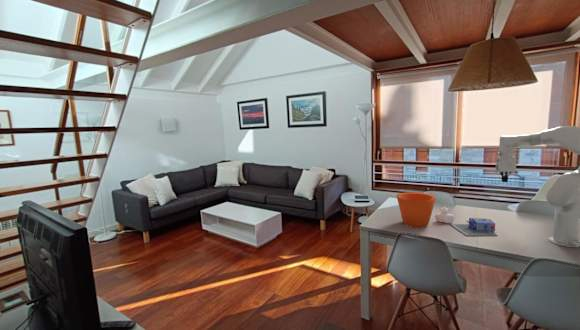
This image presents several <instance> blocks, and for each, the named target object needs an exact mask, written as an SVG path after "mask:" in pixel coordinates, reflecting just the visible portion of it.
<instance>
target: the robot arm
mask: <svg viewBox="0 0 580 330" xmlns="http://www.w3.org/2000/svg"><path fill="white" fill-rule="evenodd" d="M498 144H499V145H498V148H499V149H498V152H497V153H496V155H498V156H497V158H496V163H495V173H496V174H499V175H500V176H501V182H503V183H508V180H509V176H510V175H511V174H514V173H515V171H517V162H516V156H514V149H515V148H527V147H535V146H543V145H544V146H547V145H548V146H549V145H555V144H558V145H560V146H561V147H563V148H565V149H567V151H570V152H572V153H573V154H576V155H578V156H580V127H579V126H578V125H577V126H576V125H564V126H563V125H562V126H557V127H555V128H550V129H545V130H544V129H543V130H542V131H541V132H537V133H536V132H535V133H531V134H530V133H529V134H518V135H517V134H516V135H508V134H507V135H500V137H499V143H498ZM545 200H546V201H547V203H548V204H549V205H551V206H553V207H555V210H554V219H553V221H554V222H553V233H552V236H550V237H549V238H548V241H549V242H551V243H552V244H554V245H558V246H562V247H568V248H580V247H579V246H580V238H579V236H578V233H579V224H580V223H579V221H580V166H578V168H577V169H576V170H574V171H570V172H565V173H563V174H562V175H560V176H559V177H558V178H557V179H556V180H555V181H554V183H553V184H552V185H551V187H550V188H549V189H548V191H547V192H546V195H545Z"/></svg>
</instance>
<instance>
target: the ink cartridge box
mask: <svg viewBox="0 0 580 330" xmlns="http://www.w3.org/2000/svg"><path fill="white" fill-rule="evenodd" d="M466 222H467V224H469V226H470V227H471V228H472V229H473V230H483V231H491V232H495V231H496V223H495V222H494V221H493V220H492V219H491V218H481V217H469V218H468V220H466Z"/></svg>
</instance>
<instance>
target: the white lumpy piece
mask: <svg viewBox="0 0 580 330" xmlns="http://www.w3.org/2000/svg"><path fill="white" fill-rule="evenodd" d="M439 209H440V211H441V213H439V212H438V213H436V214H435V215H434V219H435V221H436V222H438V221H439V223H441V222H444V223H443V224H453V222H454V221H455V216H454V215H453V214H451V213H448V212H449V210H450V208H447V207H444V206H443V207H440V208H439Z"/></svg>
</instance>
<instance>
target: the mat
mask: <svg viewBox="0 0 580 330" xmlns="http://www.w3.org/2000/svg"><path fill="white" fill-rule="evenodd" d="M450 225H451V226H450ZM449 226H450V227H452V226H453V227H454V228H453V227H452V228H453V229H455V230H456V229H457V230H456V231H458V232H459V231H460V232H459V233H461V234H463V235H464V236H465V237H498V234H497V233H494V231H483V230H473V229H472V228H471V227H470V226H469V223H461V224H458V223H457V224H456V223H454V224H453V223H449Z"/></svg>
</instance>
